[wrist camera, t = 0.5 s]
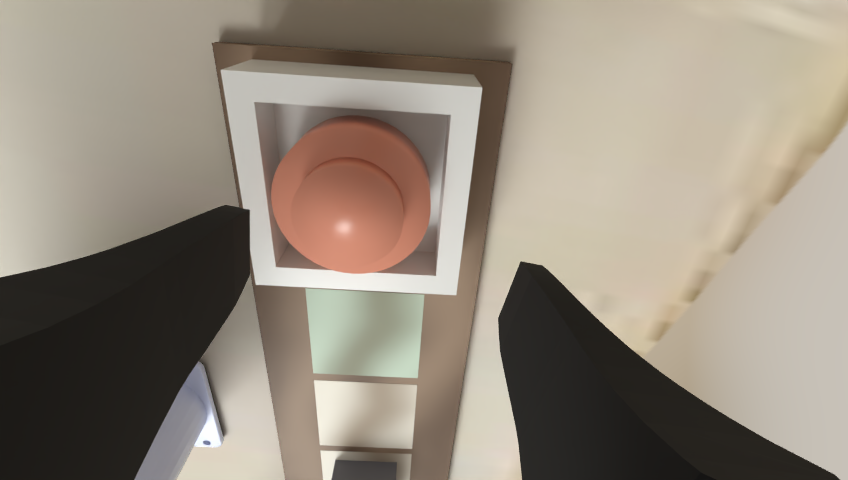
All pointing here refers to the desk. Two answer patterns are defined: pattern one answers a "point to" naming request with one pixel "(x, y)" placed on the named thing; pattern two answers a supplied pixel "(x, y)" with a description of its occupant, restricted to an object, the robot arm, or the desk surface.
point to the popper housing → (365, 96)
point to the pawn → (364, 470)
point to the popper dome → (353, 195)
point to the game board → (374, 319)
